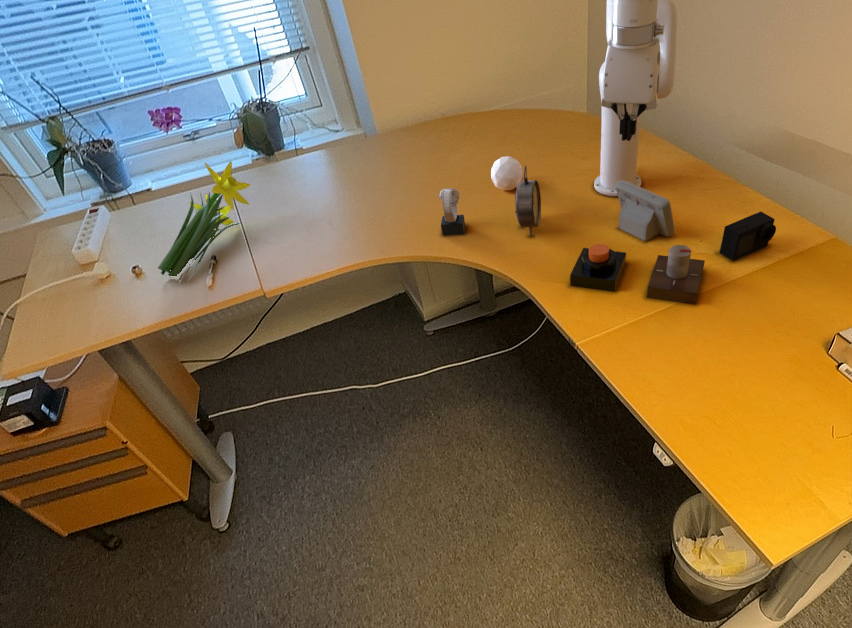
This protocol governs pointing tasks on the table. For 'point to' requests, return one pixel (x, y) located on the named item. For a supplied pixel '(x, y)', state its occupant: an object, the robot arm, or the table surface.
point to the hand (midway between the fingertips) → (627, 137)
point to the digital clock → (643, 212)
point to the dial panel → (675, 282)
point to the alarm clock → (528, 203)
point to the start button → (598, 253)
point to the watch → (451, 213)
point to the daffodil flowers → (204, 222)
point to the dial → (678, 261)
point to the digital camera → (747, 236)
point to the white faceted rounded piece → (506, 173)
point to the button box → (598, 271)
